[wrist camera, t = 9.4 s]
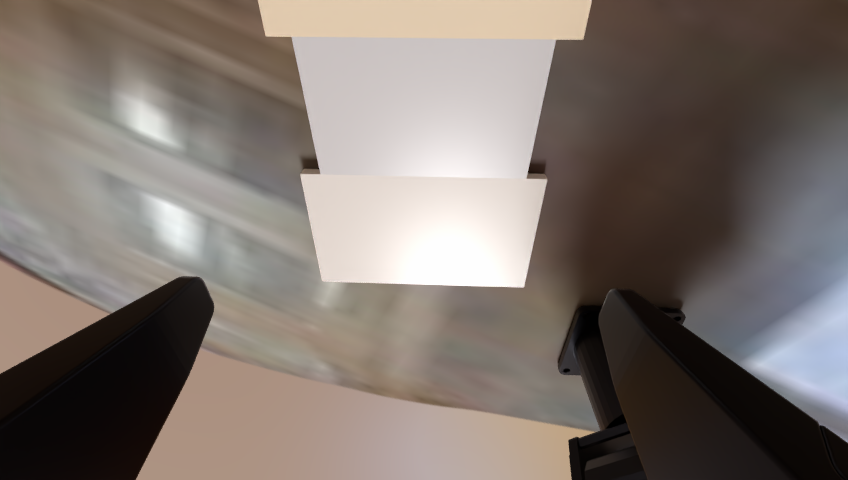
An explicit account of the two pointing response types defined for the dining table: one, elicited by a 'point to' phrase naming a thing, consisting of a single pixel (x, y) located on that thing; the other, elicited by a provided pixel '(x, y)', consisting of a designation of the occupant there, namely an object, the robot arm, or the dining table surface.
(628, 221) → the dining table surface
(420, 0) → the dock
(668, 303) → the dining table surface
